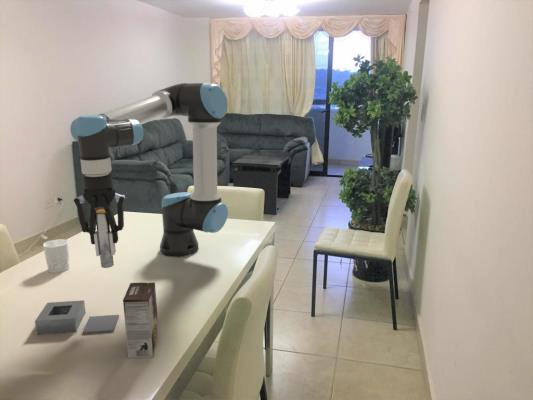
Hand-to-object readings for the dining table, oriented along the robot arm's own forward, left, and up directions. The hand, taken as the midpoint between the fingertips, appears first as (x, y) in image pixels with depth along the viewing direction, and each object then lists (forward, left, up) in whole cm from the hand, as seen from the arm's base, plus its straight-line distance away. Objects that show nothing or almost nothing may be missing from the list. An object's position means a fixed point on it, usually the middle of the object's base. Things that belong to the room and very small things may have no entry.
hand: (106, 253), depth 124 cm
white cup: (+24, -32, -18) cm, 44 cm away
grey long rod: (0, 0, -4) cm, 4 cm away
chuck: (+12, +6, -18) cm, 22 cm away
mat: (+1, +8, -18) cm, 20 cm away
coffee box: (-12, +21, -18) cm, 30 cm away
